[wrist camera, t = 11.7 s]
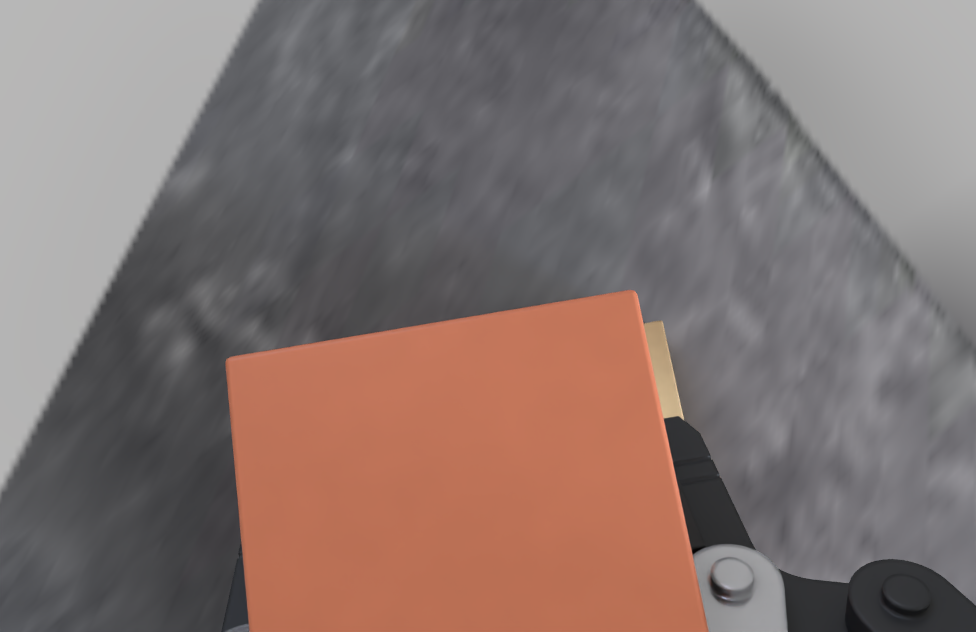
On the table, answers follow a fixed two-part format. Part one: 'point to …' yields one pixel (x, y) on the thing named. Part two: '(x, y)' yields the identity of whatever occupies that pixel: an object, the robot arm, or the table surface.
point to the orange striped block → (463, 479)
